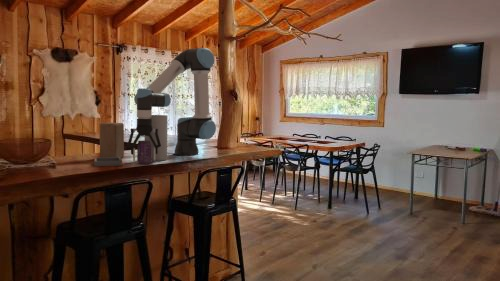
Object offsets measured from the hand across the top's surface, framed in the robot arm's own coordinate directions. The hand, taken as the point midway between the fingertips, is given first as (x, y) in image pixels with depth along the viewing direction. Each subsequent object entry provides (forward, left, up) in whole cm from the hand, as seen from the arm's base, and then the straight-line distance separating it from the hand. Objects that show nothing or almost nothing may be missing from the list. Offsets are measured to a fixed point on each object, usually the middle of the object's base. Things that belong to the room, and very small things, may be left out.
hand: (144, 160), depth 212 cm
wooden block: (+15, -23, -2) cm, 28 cm away
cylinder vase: (-8, -13, -2) cm, 15 cm away
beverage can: (0, 0, -2) cm, 2 cm away
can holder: (+18, -2, -2) cm, 18 cm away
